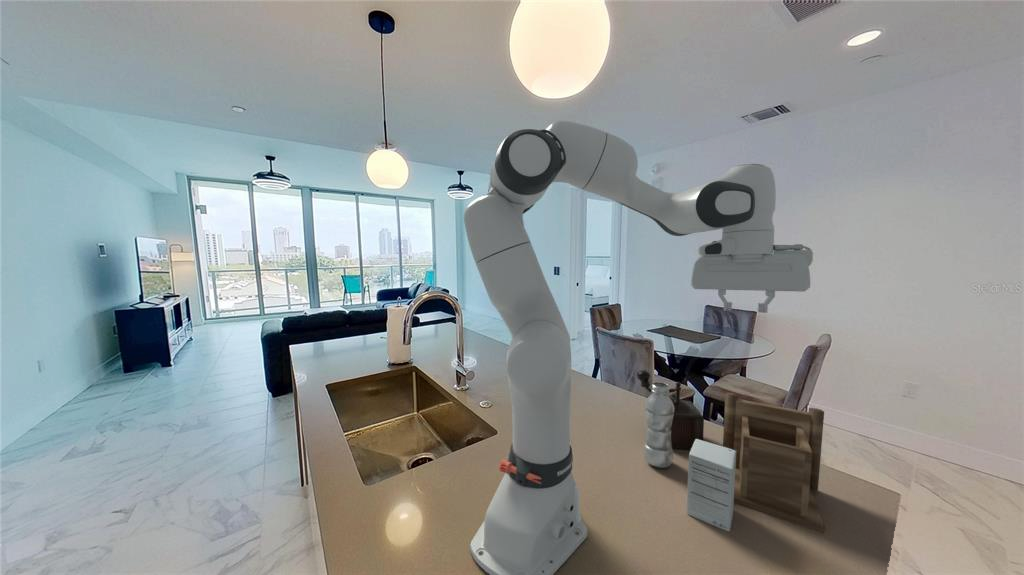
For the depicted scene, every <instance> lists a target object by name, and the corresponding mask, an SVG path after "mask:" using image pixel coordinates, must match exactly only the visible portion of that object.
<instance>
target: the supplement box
mask: <svg viewBox="0 0 1024 575" xmlns="http://www.w3.org/2000/svg"><path fill="white" fill-rule="evenodd" d="M735 466H736V451H735V450H732V449H729V448H726V447H723V445H720V444H719V445H718V444H715V443H713V442H708V441H705V440H703V441H702V440H699V439H695V441H694V444H693V446H692V448H691V450H689V454H688V467H687V468H688V470H687V497H686V514H688V515H689V516H691V517H694V518H696V519H697V520H700V521H702V522H704V523H707V524H709V525H712V526H713V527H716V528H718V529H720V530H723V531H726V532H727V533H729V532H731V527H732V521H733V517H734V516H733V514H734V506H735V505H734V504H735V502H734V486H735Z"/></svg>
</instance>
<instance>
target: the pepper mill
mask: <svg viewBox="0 0 1024 575" xmlns="http://www.w3.org/2000/svg"><path fill="white" fill-rule="evenodd" d="M636 378H637V379H638V380H639V381H640V386H641V387H642V388H644V389H645V390H647V391H648V392H650V393H651V394H652V393H653V392H652V391H651V389H652V388H650V387H651V383H650V381H649V380H650V378H651V373H650V372H649V371H648V370H645V369H640V370H639V371H637V372H636ZM681 386H682V383H681V382H680V381H677V382H675V387H673V388H669V394H670V393H674V392H675V394H672V395H671V397H669V398H670V399H671V401H672V403H673V405H674V415H673V420H672V428H671V443H672V450H679V451H682V450H683V451H691V448H692V446H693V444H694V441H695V439H699V440H702V441H704V427H705V426H704V425H705V418H704V415H703V414H702V413H701V412H700V411H699V410H698V408H697V407H696V405H695V404H694V403H693V402H692V401H691V400H683V399H681V398H680V397H681V396H680V395H681V390H682V387H681Z"/></svg>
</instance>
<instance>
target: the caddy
mask: <svg viewBox="0 0 1024 575" xmlns="http://www.w3.org/2000/svg"><path fill="white" fill-rule="evenodd" d="M738 395H739V394H736V393H733V392H725V394H724V396H725V397H724V399H725V400H724V418H723V435H722V437H723V438H722V446H723V447H726V448H729V449H732V450H735V451H736V466H735V486H734V504H735V503H736V504H738V505H742V506H745V507H747V508H750V509H753V510H756V511H759V512H762V513H765V514H768V515H771V516H773V517H774V516H775V517H777V518H780V519H783V520H786V521H788V522H792V523H795V524H798V525H800V526H804V527H806V528H810V529H813V530H816V531H819V532H821V533H825V531H826V527H825V524H824V522H823V518H822V515H821V512H820V508H819V507H818V504H817V500H816V497H815V495H817V494H818V493H819V481H820V472H821V471H820V470H821V469H820V468H821V467H820V466H821V458H822V456H821V455H822V446H823V445H822V444H823V432H824V431H823V430H824V419H825V411H824V410H822V409H820V408H817V407H808V411H804V410H799V409H795V408H794V409H793V408H789V407H788V408H787V407H783V406H777V405H773V404H767V403H762V402H758V401H757V402H756V401H752V400H745V399H741V398H738Z"/></svg>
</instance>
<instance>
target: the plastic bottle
mask: <svg viewBox="0 0 1024 575" xmlns="http://www.w3.org/2000/svg"><path fill="white" fill-rule="evenodd" d="M650 389H651V391H652V392H653V393H652V392H651V394H650V395H649V396H648V397H647V398H646V399H645V403H644V408H645V415H646V416H645V418H646V436H645V443H644V445H643V454H644V459H645V460H646V462H647V463H648V464H649V465H651V466H653V467H655V468H660V469H665V468H670V466H671V465H672V463H673V460H674V449H672V443H671V428H672V420H673V415H674V405H673V403H672V401H671V399H670V398H671V397H669V394H670V393H669V389H670V385H669V384H667V383H665V382H660V381H655V382H652V384H651V388H650Z"/></svg>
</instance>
